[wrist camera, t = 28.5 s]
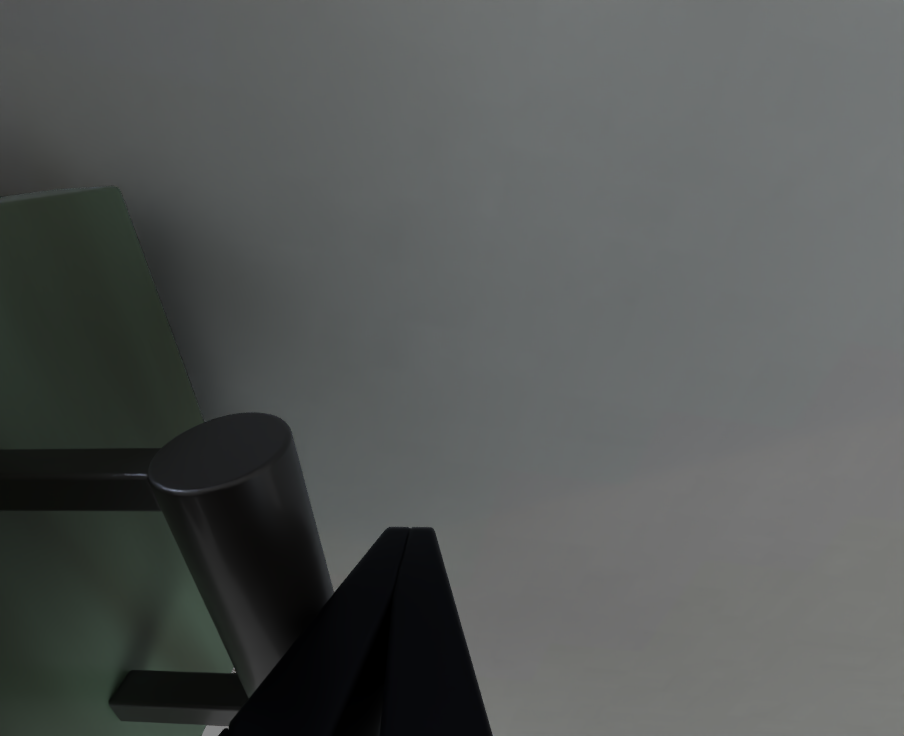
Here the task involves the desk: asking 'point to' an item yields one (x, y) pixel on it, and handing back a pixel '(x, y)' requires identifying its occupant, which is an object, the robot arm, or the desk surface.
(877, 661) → the desk surface
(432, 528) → the robot arm
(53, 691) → the drawer
